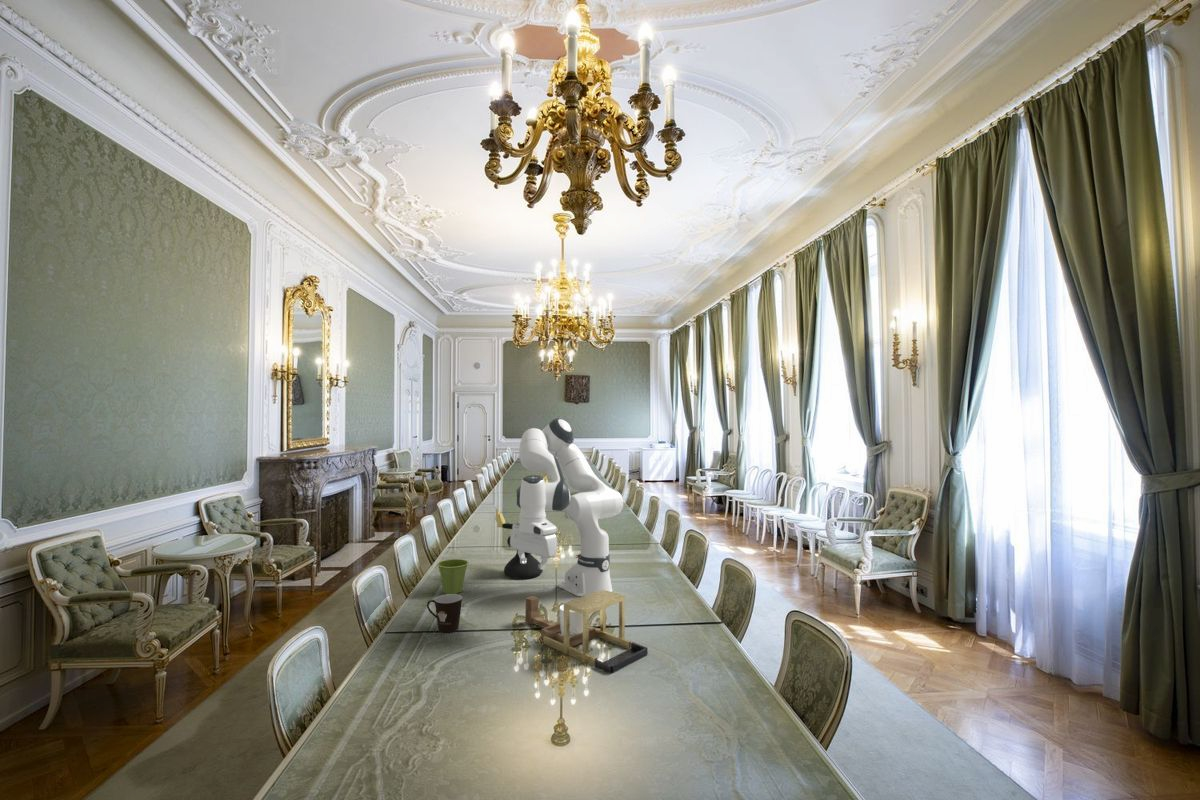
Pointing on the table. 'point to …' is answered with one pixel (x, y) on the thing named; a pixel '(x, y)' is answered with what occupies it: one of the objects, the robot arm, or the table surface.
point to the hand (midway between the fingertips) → (532, 566)
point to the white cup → (572, 622)
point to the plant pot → (452, 575)
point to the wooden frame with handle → (550, 624)
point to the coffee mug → (447, 612)
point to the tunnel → (598, 631)
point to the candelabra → (514, 566)
